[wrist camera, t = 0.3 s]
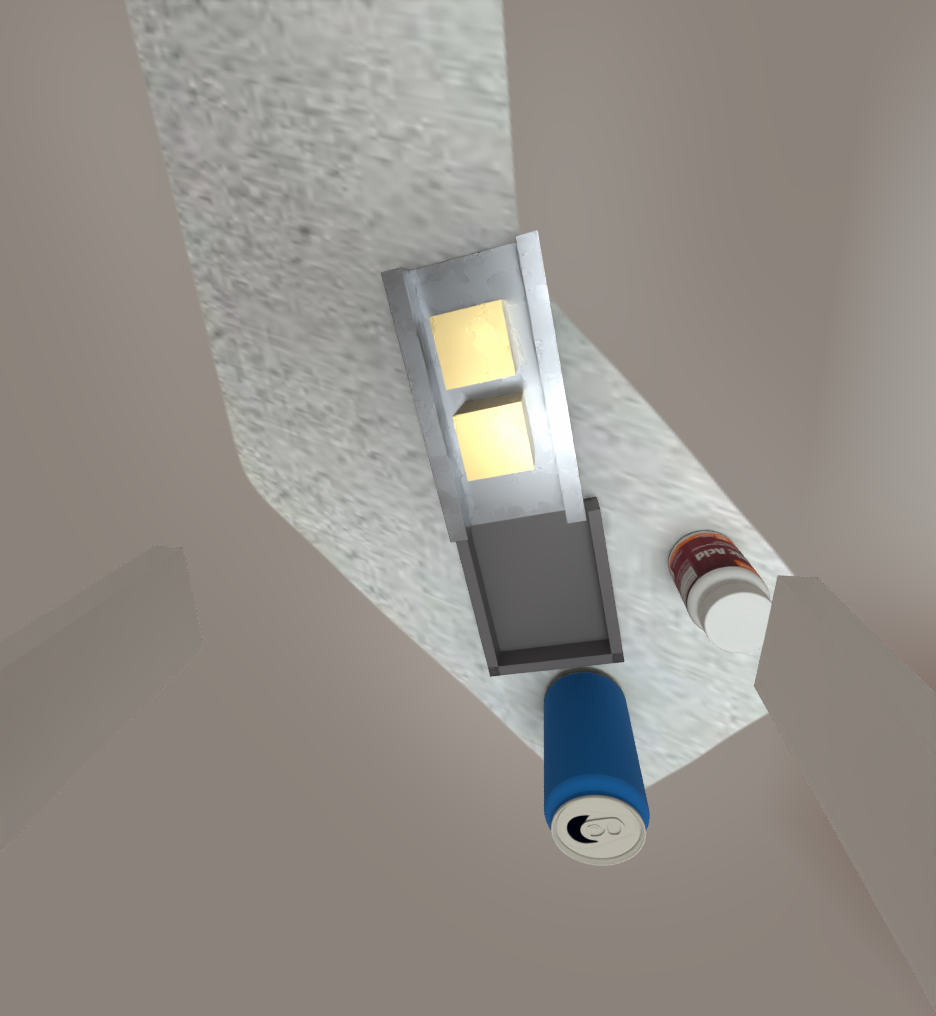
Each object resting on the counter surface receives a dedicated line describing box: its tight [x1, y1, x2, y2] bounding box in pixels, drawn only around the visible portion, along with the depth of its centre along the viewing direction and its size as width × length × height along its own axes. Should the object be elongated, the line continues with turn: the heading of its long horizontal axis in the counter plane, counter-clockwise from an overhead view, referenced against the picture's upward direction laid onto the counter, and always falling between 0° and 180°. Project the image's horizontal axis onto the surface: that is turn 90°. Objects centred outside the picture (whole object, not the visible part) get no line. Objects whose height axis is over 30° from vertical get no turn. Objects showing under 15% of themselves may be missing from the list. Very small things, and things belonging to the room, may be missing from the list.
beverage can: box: [544, 672, 649, 866], centre depth 38 cm, size 6×6×12 cm
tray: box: [456, 497, 624, 676], centre depth 39 cm, size 12×10×2 cm
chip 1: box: [429, 300, 519, 390], centre depth 32 cm, size 4×4×4 cm
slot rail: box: [381, 231, 586, 542], centre depth 34 cm, size 17×9×4 cm, turn 13°
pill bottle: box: [668, 531, 772, 653], centre depth 34 cm, size 5×5×8 cm
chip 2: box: [452, 391, 535, 481], centre depth 33 cm, size 4×4×4 cm
